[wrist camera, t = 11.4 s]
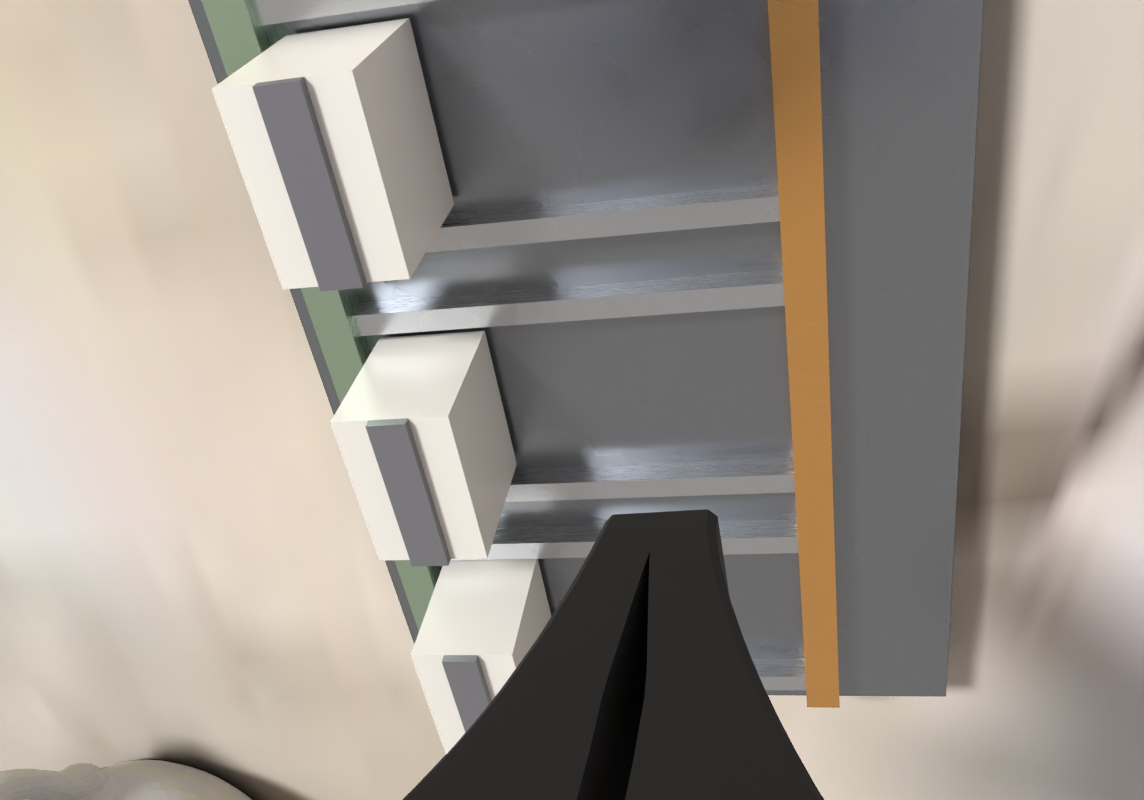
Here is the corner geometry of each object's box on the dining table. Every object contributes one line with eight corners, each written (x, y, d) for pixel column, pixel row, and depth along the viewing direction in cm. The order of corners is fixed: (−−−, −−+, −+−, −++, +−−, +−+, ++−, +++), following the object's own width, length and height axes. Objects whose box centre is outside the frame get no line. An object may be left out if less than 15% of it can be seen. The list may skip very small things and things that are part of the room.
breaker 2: (484, 330, 22) (445, 421, 19) (516, 463, 24) (485, 564, 21) (379, 337, 22) (326, 428, 20) (419, 468, 24) (376, 567, 21)
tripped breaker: (536, 556, 25) (510, 661, 22) (561, 656, 27) (539, 765, 24) (445, 558, 26) (407, 662, 23) (475, 656, 28) (444, 762, 25)
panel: (976, -195, 17) (1004, -182, 15) (937, 652, 27) (950, 721, 26) (206, -67, 20) (148, -43, 18) (444, 652, 30) (424, 715, 29)
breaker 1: (409, 17, 18) (347, 74, 15) (454, 204, 20) (406, 284, 17) (286, 35, 19) (205, 92, 16) (342, 215, 21) (278, 295, 18)
